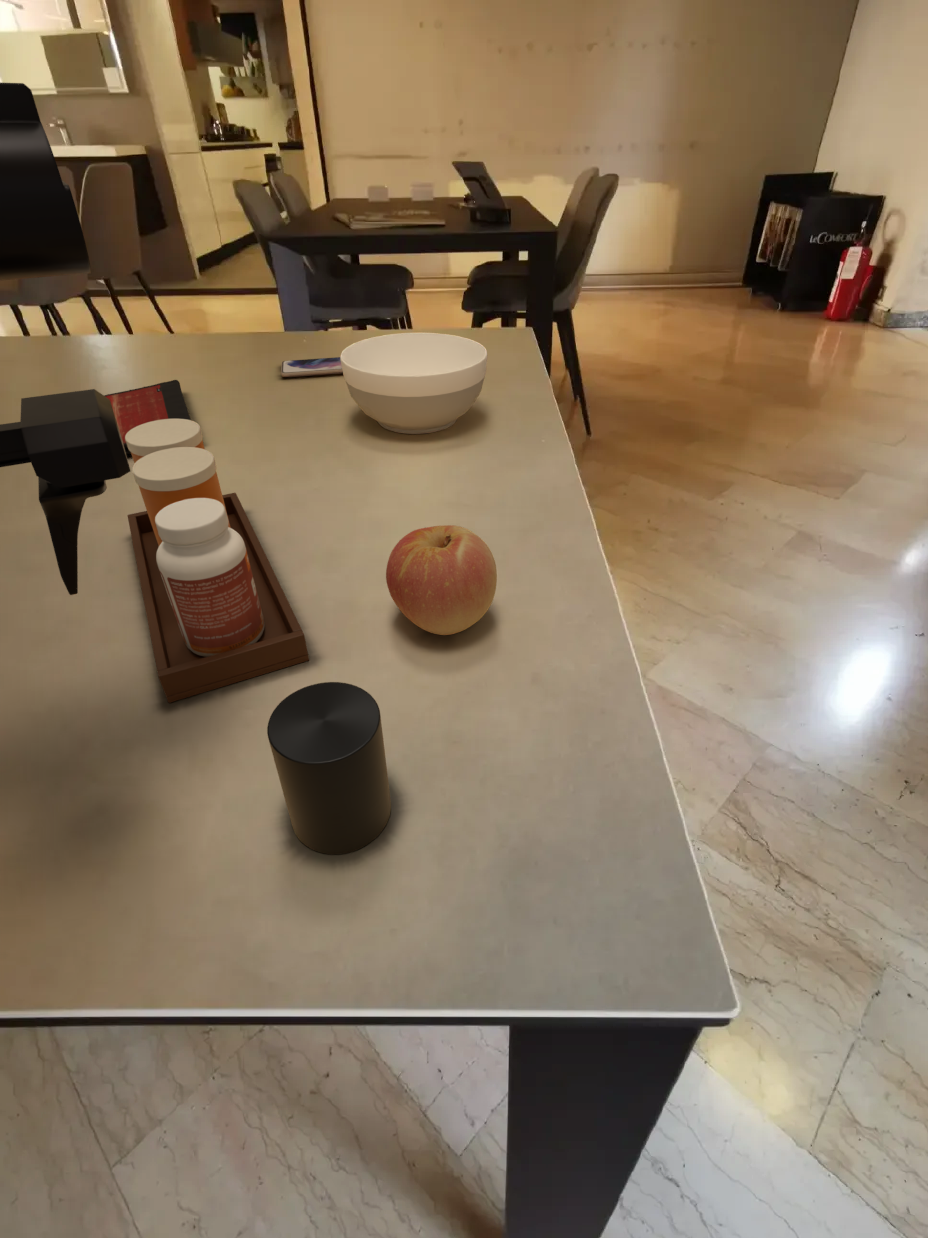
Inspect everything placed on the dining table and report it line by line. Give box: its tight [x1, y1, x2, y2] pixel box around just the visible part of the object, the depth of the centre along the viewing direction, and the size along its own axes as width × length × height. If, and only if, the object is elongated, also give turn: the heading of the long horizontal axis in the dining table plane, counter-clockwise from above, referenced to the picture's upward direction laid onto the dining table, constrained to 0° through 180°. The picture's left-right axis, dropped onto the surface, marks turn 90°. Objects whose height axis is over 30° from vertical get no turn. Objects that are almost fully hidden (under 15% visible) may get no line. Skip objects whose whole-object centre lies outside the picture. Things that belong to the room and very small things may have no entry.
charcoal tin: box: [266, 681, 392, 855], centre depth 38 cm, size 6×6×8 cm
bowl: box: [339, 332, 488, 435], centre depth 88 cm, size 19×19×9 cm
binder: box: [103, 379, 192, 455], centre depth 88 cm, size 16×2×21 cm
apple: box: [385, 524, 498, 636], centre depth 53 cm, size 9×9×8 cm
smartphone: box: [280, 356, 343, 378], centre depth 107 cm, size 7×1×15 cm
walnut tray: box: [127, 492, 310, 704], centre depth 58 cm, size 26×10×3 cm, turn 26°
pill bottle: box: [155, 498, 264, 657], centre depth 50 cm, size 6×6×11 cm
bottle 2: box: [131, 447, 231, 546], centre depth 56 cm, size 6×6×11 cm
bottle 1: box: [125, 419, 206, 464], centre depth 61 cm, size 6×6×11 cm
